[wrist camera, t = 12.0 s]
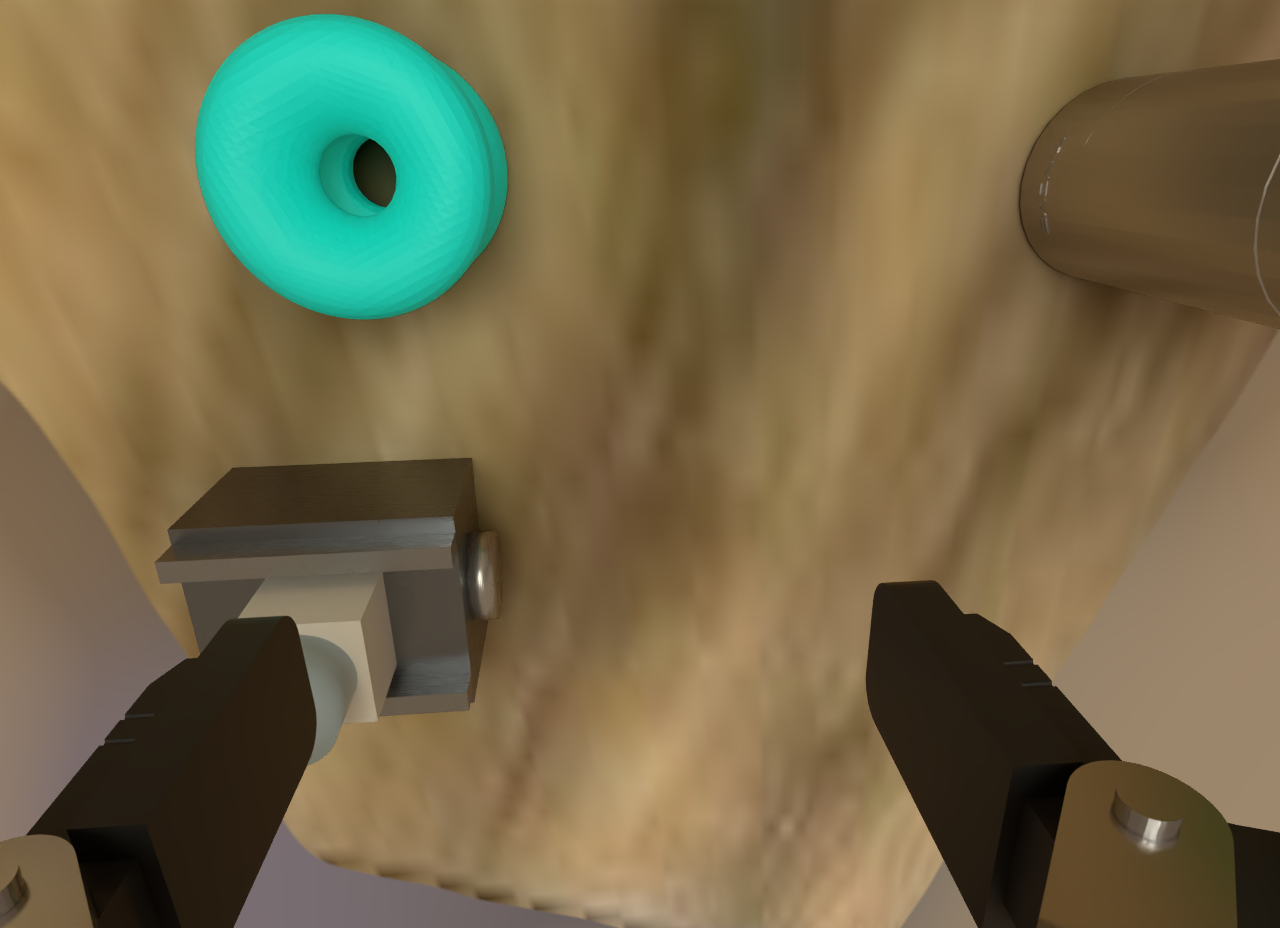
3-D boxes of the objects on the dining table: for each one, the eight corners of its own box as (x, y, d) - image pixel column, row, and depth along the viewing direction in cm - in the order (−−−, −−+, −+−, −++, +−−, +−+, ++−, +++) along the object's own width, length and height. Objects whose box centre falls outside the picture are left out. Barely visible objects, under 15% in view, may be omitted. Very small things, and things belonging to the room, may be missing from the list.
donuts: (543, 245, 27) (302, 374, 28) (549, 221, 37) (367, 319, 38) (382, -57, 24) (110, 103, 25) (433, 1, 33) (234, 116, 34)
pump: (382, 570, 35) (340, 666, 28) (396, 664, 37) (360, 773, 30) (266, 576, 35) (197, 675, 28) (287, 670, 36) (226, 783, 30)
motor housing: (494, 456, 41) (477, 530, 33) (509, 620, 45) (496, 721, 37) (232, 468, 40) (150, 546, 32) (269, 634, 44) (204, 741, 36)
